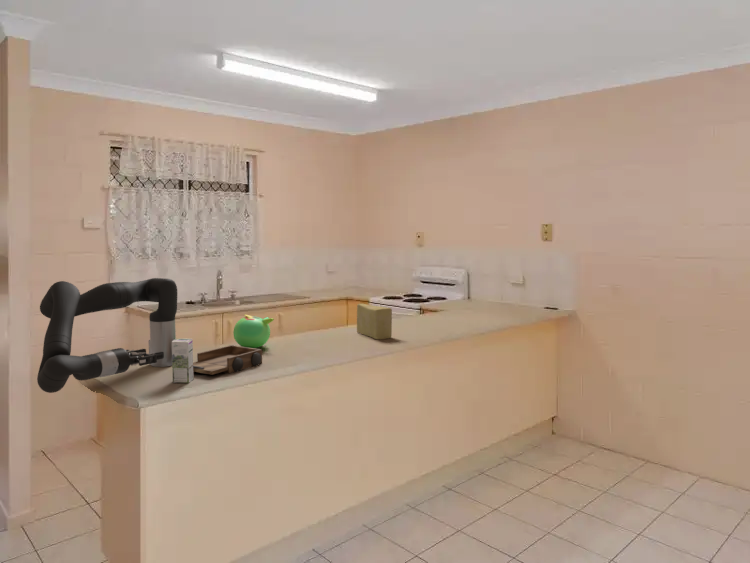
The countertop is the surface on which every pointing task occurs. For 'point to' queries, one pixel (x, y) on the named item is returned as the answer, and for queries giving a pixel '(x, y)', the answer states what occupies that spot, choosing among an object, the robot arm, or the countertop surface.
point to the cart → (232, 357)
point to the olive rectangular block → (374, 321)
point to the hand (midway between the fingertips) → (154, 353)
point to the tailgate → (208, 368)
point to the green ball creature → (252, 331)
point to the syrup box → (182, 360)
